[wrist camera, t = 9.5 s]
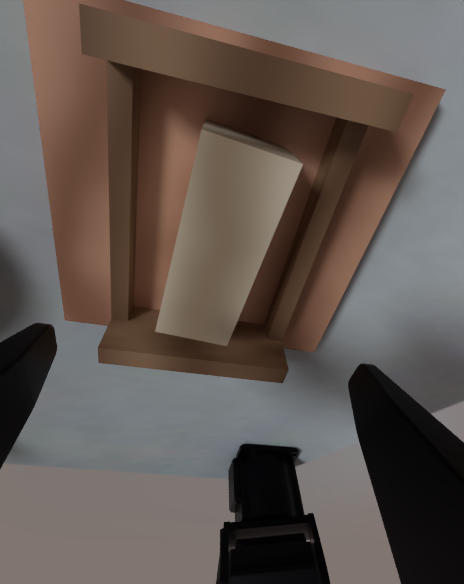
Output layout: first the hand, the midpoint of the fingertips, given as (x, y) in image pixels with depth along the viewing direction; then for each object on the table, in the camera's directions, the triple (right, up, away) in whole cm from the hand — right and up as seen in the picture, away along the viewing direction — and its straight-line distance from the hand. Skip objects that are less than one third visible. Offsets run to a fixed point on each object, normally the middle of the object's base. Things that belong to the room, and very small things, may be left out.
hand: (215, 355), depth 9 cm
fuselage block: (0, +5, +8) cm, 10 cm away
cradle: (0, +6, +9) cm, 11 cm away
